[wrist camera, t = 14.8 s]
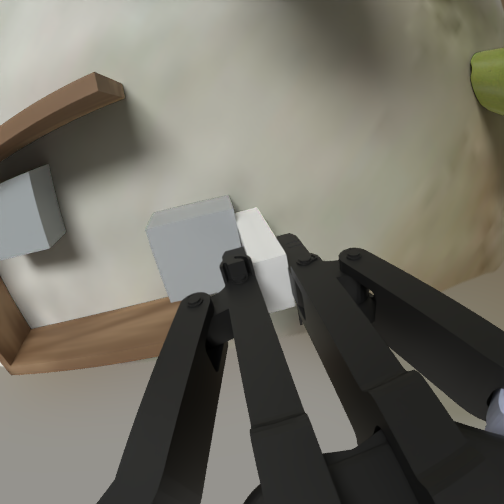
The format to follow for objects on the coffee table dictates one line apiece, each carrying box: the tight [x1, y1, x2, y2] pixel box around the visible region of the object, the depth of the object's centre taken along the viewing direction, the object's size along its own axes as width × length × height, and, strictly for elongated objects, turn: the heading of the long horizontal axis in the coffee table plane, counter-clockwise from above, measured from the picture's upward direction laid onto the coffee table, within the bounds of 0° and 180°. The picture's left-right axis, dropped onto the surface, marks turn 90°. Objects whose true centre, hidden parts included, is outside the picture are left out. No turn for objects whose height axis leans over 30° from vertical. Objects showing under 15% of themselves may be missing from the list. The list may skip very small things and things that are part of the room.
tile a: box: [0, 164, 66, 260], centre depth 15 cm, size 5×5×3 cm
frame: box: [0, 72, 181, 375], centre depth 15 cm, size 16×17×5 cm
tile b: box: [145, 195, 241, 303], centre depth 18 cm, size 5×5×3 cm
